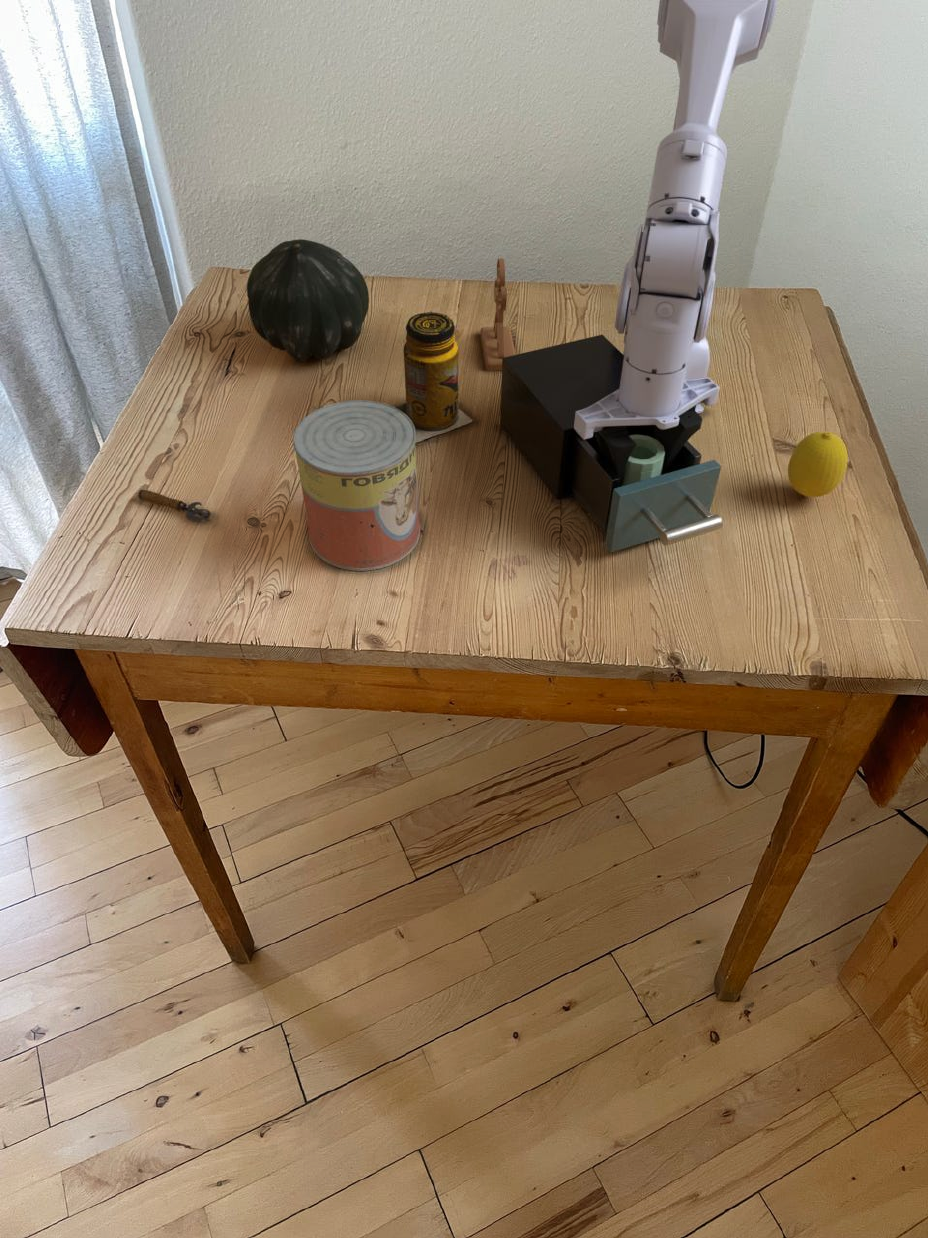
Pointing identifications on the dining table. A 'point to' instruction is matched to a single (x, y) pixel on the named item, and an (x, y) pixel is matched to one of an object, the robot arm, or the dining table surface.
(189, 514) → the can opener
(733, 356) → the dining table surface
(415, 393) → the condiment
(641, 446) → the jar
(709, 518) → the drawer
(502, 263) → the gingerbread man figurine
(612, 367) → the cabinet
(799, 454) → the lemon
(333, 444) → the canned food
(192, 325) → the dining table surface
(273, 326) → the squash
